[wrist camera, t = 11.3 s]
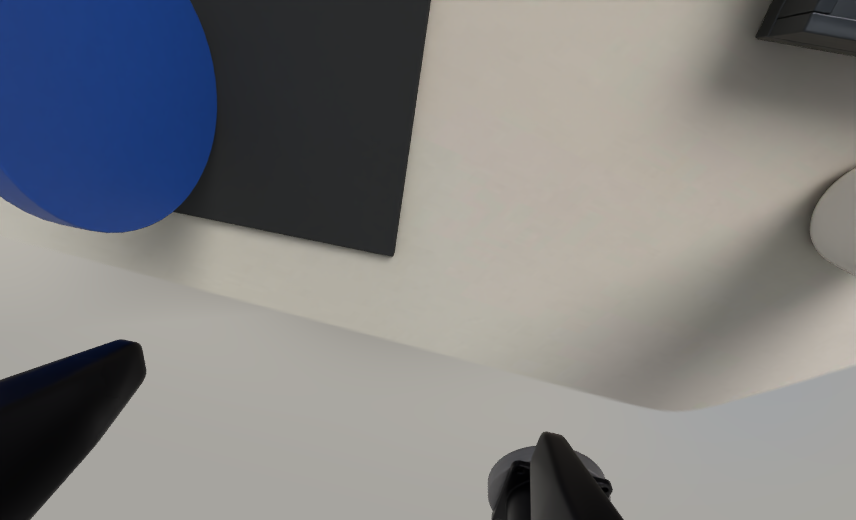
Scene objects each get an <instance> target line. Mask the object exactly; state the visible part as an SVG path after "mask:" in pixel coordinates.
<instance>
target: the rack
mask: <svg viewBox="0 0 856 520" xmlns="http://www.w3.org/2000/svg"><path fill="white" fill-rule="evenodd" d="M756 39H760V40H766V41H772V42H777V43H783V44H788V45H794V46H800V47H805V48H811V49H816V50H822V51H827V52H833V53H839V54H844V55H850V56H855V57H856V0H773V1H772V3H771V5H770V7H769V10H768V12H767V14H766V16H765V18H764V20H763V22H762V25H761V27H760V29H759V31H758V33H757V35H756Z"/></svg>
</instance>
